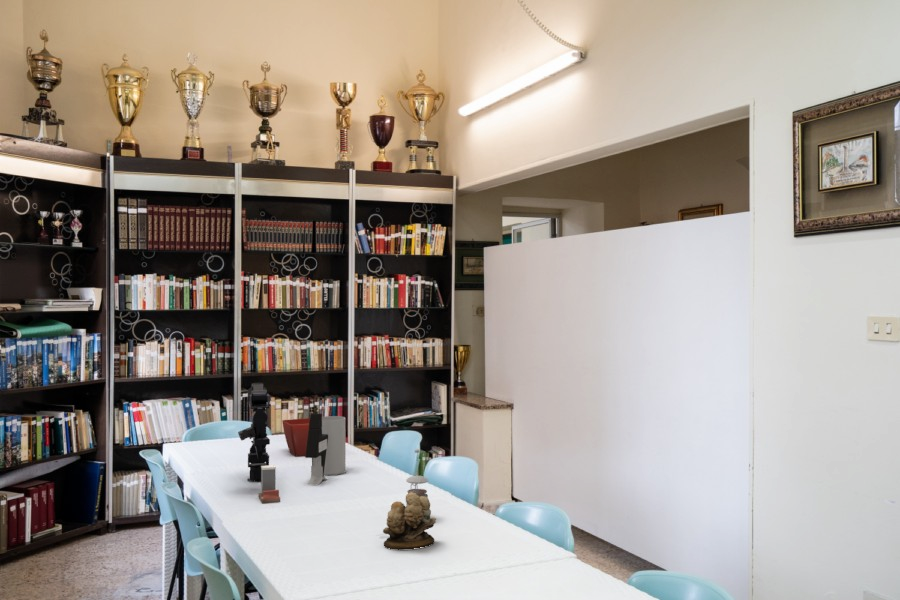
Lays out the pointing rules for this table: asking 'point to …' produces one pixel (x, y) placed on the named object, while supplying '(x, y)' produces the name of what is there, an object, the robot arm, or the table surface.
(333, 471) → the cylinder vase
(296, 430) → the plant pot
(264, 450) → the robot arm
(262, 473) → the gray cream rectangular block
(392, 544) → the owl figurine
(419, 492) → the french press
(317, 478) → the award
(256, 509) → the table surface
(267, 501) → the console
